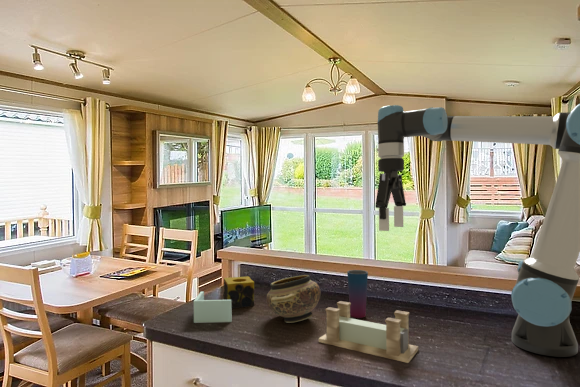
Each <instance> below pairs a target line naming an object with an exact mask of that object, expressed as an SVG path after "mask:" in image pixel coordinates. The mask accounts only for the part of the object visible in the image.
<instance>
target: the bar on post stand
mask: <svg viewBox="0 0 580 387" xmlns="http://www.w3.org/2000/svg"><path fill="white" fill-rule="evenodd" d="M336 305H337V308H336V307H331V306H330V307H329V306H328V307H327V308H325V312H326V318H327V336H326V333H325V334H323V335H321V336H320V337H319V338H318V343H322V344H326V345H330V346H334V347H339V348H343V349H348V350H351V351H355V352H358V353H364V354H368V355H371V356H372V355H373V356H376V357H381V358H385V359H389V360H394V361H398V362H403V363H406V364H409V363H410V362H411V360H412V359H413V358H414V357H415V355H416V354H417V353H418V352H419V346H418V345H413V344H410V341H409V340H410V338H409V337H410V336H409V332H410V331H409V330H410V329H409V328H410V327H409V323H410V322H409V315H410V312H409V311H404V310H403V311H402V310H397V309H396V310H395V311H394V312H393V314H394V316H395V317H387V318H386V319H385V320H384V322H385V323H386V324H385V325H386V350H385V349H380V348H376V347H372V346H367V345H363V344H358V343H354V342H349V341H345V340H340V339H339V316H341V317H347V318H351V315H350V305H351V303H349V301H342V300H339V301H338V302H336ZM400 328H405V329H408V349H407V350H406V351H405V353H404V354H403V353H401V347H400Z"/></svg>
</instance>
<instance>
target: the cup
mask: <svg viewBox="0 0 580 387" xmlns="http://www.w3.org/2000/svg"><path fill="white" fill-rule="evenodd" d="M346 273H347V285H348V286H347V288H348V300H349V301H348V302H349V303H351V305H350V317H351V318H354V319H356V318H357V319H362V318H365V317H366V316H367V315H366V314H367V312H366V311H367V299H368V298H367V294H368V275H369V272H368V271H366V270H363V269H351V270H347V272H346Z"/></svg>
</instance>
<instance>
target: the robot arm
mask: <svg viewBox="0 0 580 387" xmlns="http://www.w3.org/2000/svg"><path fill="white" fill-rule="evenodd" d="M376 124H377V148H376V151H377V152H378V153H377V154H378V158H379V159H378V164H377V168H378V169H377V170H378V172H380V173H379V175H378V176H379V179H378V187H377V194H376V199H375V208H376V209H378V231H380V232H389V231H390V208H389V207H388V206H389V202H390V198H391V195H392V198H393V203H394V206H393V227H395V228H404V207H407V206H406V205H407V203H406V198H405V191H404V185H403V175H402V174H399V172H403V171H404V170H405V159H404V158H403V157H405V146H404V145H405V144H404V143H405V141H404V139H405V138H410V137H423V138H427V139H429V140H430V141H432V142H443V141H444V142H445V141H447V142H449V141H450V142H452V141H453V142H454V141H455V142H457V141H458V142H473V143H474V142H477V143H499V144H518V145H519V144H520V145H521V144H525V145H543V146H545V145H547V146H551V147H552V148H553V149H554V150H558V151H557V154H558V155H559V157H560V158H561V159H562V163H561V167H560V169H559V173H558V176H557V179H556V181H555V185H554V188H553V190H552V194H551V197H550V200H549V203H548V206H547V209H546V213H545V215H544V219H543V221H542V225H541V228H540V231H539V234H538V238H537V241H536V244H535V247H534V250H533V253H532V255H531V256H530V257H529V256H528V257H527V258H524V259H523V260H521V261H519V262H518V266H517V274H518V275H517V279H516V281H515V285H514V286H513V288H512V290H511V294H510V296H511V297H510V298H511V303H512V305H513V308H514V310H515V311H516V313H517V314H518V315H517V317H516V320H515V323H514V324H513V328H512V331H511V342H512V344H513V345H515V346H516V347H518V348H520V349H522V350H525V351H527V352H530V353H534V354H538V355H542V356H548V357H555V358H556V357H558V358H564V357H565V358H567V357H573V356H575V355H577V354H578V353H579V343H578V340H577V338H576V335H575V332H574V330H573V326H572V325H571V323H570V314H571V313H572V310H573V309H572V301H573V298H574V295H575V292H576V289H577V286H578V284H579V283H578V282H579V280H580V276H579V274H578V273H577V271H576V269H575V267H576V265H577V261H578V258H579V255H580V103H578V104H577V105H576V106H575V107H574V108H573V109H571V111H570V112H558V113H556V114H555V115H553V116H552V115H551V116H550V115H549V116H543V115H542V116H541V115H540V116H539V115H537V116H534V115H529V116H528V115H527V116H526V115H525V116H524V115H522V116H521V115H519V116H518V115H516V116H515V115H514V116H513V115H512V116H511V115H509V116H508V115H448V114H447V112H446V109H445V108H444V107H441V106H440V107H439V106H438V107H433V106H432V107H428V108H421V109H414V110H407V111H404V107H403V106H402V105H398V104H397V105H396V104H393V105H384V106H382V107H380V108H379V109H378V111H377V122H376Z"/></svg>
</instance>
